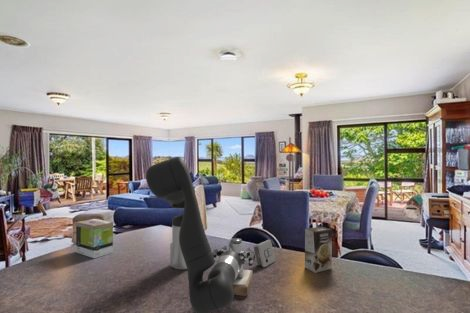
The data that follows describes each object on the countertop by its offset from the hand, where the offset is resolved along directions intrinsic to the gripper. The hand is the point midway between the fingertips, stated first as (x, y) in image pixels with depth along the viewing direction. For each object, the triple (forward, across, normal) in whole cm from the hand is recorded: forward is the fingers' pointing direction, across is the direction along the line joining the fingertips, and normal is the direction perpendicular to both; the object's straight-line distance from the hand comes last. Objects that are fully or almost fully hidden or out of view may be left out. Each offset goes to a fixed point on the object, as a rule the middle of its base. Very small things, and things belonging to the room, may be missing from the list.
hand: (237, 249), depth 99 cm
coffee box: (+19, -30, +12) cm, 38 cm away
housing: (-2, 0, +9) cm, 9 cm away
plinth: (-2, 0, +12) cm, 12 cm away
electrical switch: (+20, -8, +12) cm, 25 cm away
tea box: (+17, +72, +12) cm, 75 cm away
